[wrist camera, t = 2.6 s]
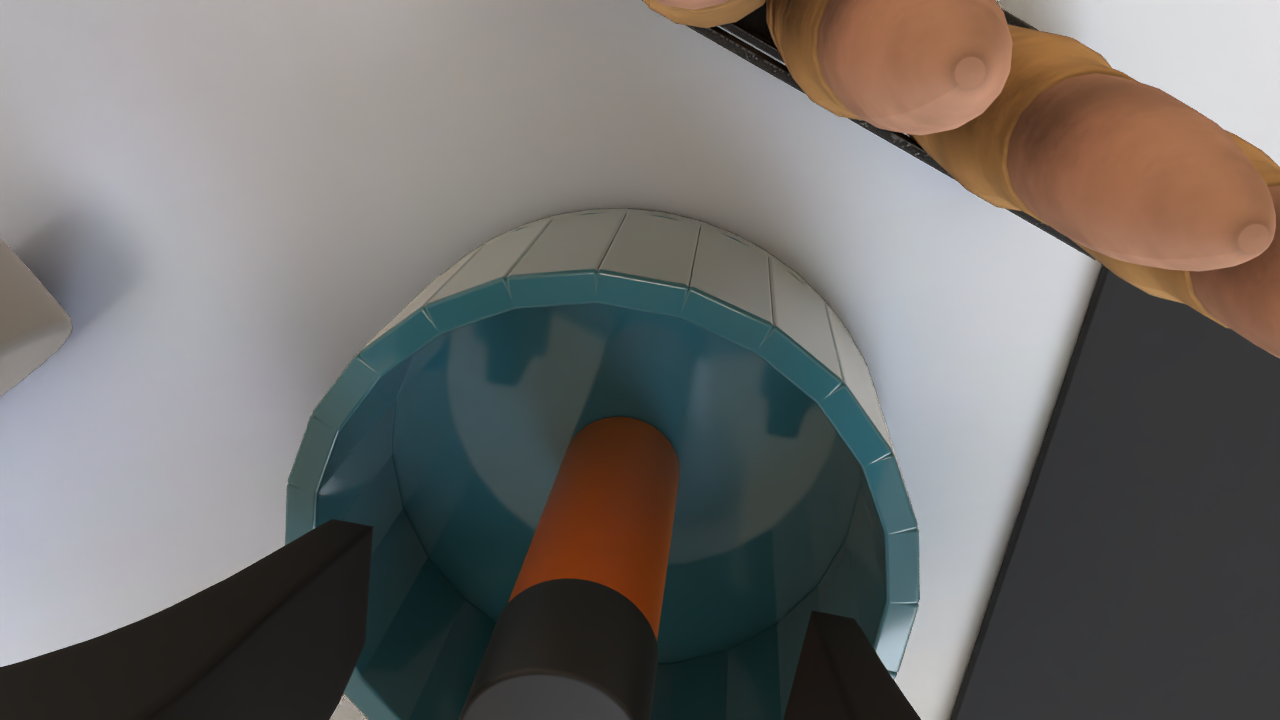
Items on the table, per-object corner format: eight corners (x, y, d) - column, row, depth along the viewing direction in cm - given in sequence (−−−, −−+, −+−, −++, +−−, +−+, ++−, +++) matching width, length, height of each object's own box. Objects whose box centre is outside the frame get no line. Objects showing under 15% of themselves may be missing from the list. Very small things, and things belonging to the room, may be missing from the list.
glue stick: (671, 532, 19) (629, 840, 12) (554, 510, 20) (446, 805, 13) (692, 425, 19) (659, 692, 12) (569, 402, 19) (465, 653, 12)
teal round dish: (820, 710, 21) (837, 877, 17) (362, 621, 21) (275, 764, 18) (944, 261, 18) (1001, 342, 14) (393, 163, 18) (293, 215, 14)
